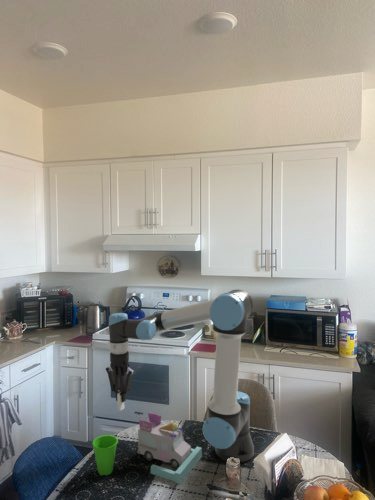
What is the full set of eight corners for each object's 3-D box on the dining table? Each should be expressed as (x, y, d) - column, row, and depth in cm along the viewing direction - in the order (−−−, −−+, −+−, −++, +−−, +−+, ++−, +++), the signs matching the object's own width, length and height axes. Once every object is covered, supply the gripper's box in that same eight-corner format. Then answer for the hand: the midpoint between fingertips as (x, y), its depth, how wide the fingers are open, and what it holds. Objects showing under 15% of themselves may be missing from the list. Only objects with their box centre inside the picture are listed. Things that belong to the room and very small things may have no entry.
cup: (90, 467, 138) (90, 437, 137) (115, 461, 141) (115, 432, 141) (94, 481, 129) (94, 450, 129) (120, 475, 133) (120, 445, 132)
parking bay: (201, 456, 144) (201, 447, 144) (179, 484, 128) (179, 474, 128) (174, 448, 149) (174, 440, 149) (149, 474, 133) (149, 464, 133)
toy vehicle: (181, 473, 134) (181, 432, 133) (136, 458, 143) (135, 420, 142) (192, 459, 142) (192, 420, 142) (149, 446, 151) (149, 410, 150)
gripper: (100, 352, 152) (102, 410, 153) (127, 356, 146) (129, 415, 147) (112, 347, 159) (113, 402, 159) (137, 350, 153) (139, 408, 154)
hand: (121, 409), depth 153 cm, fingers closed
